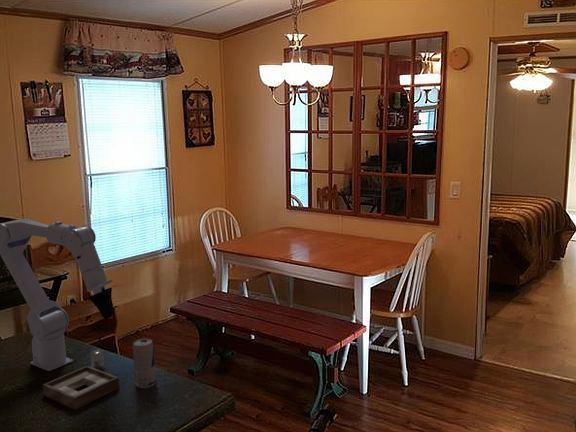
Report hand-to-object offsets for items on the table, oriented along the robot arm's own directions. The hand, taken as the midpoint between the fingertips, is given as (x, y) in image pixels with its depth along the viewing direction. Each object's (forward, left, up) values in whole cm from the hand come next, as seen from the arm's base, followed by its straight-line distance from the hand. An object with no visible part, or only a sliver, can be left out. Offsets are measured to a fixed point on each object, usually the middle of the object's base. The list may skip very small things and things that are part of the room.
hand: (109, 316), depth 154 cm
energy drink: (+11, +2, -18) cm, 21 cm away
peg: (-8, +1, -18) cm, 19 cm away
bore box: (0, -10, -18) cm, 20 cm away
